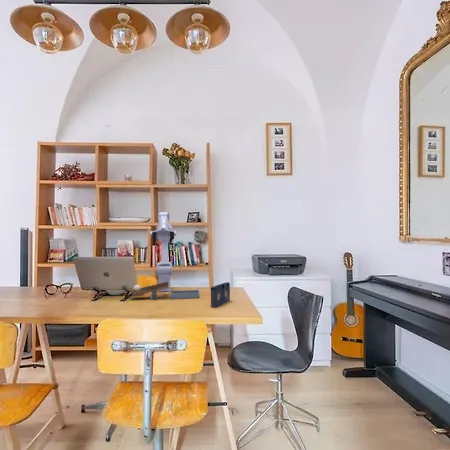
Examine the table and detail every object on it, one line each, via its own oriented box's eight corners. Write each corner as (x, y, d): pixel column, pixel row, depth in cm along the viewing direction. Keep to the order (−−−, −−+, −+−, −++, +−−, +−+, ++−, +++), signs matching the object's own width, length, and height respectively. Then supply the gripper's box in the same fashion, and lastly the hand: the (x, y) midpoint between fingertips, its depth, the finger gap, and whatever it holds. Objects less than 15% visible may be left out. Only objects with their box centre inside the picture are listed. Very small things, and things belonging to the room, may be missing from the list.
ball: (134, 292, 194) (133, 285, 194) (141, 290, 195) (140, 283, 195) (133, 293, 190) (132, 286, 190) (141, 292, 191) (139, 284, 191)
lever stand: (151, 296, 199) (151, 286, 199) (158, 296, 199) (158, 286, 199) (149, 300, 188) (149, 289, 188) (157, 299, 189) (157, 289, 189)
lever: (135, 291, 203) (134, 286, 203) (168, 283, 206) (167, 278, 206) (132, 296, 189) (130, 290, 189) (168, 287, 192) (167, 282, 191)
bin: (170, 296, 199) (170, 289, 200) (198, 295, 202) (198, 288, 202) (170, 299, 191) (170, 291, 191) (199, 298, 193) (199, 290, 193)
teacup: (127, 292, 211) (127, 279, 211) (120, 296, 200) (120, 282, 200) (106, 292, 212) (106, 279, 212) (97, 296, 201) (97, 282, 201)
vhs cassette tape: (226, 300, 187) (225, 282, 187) (230, 300, 186) (230, 282, 186) (209, 307, 170) (209, 287, 171) (215, 307, 169) (214, 287, 169)
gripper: (150, 222, 198) (149, 239, 188) (176, 222, 200) (176, 238, 190) (151, 231, 202) (150, 247, 193) (176, 230, 204) (176, 247, 195)
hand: (163, 243), depth 191 cm, fingers open, 7 cm apart
